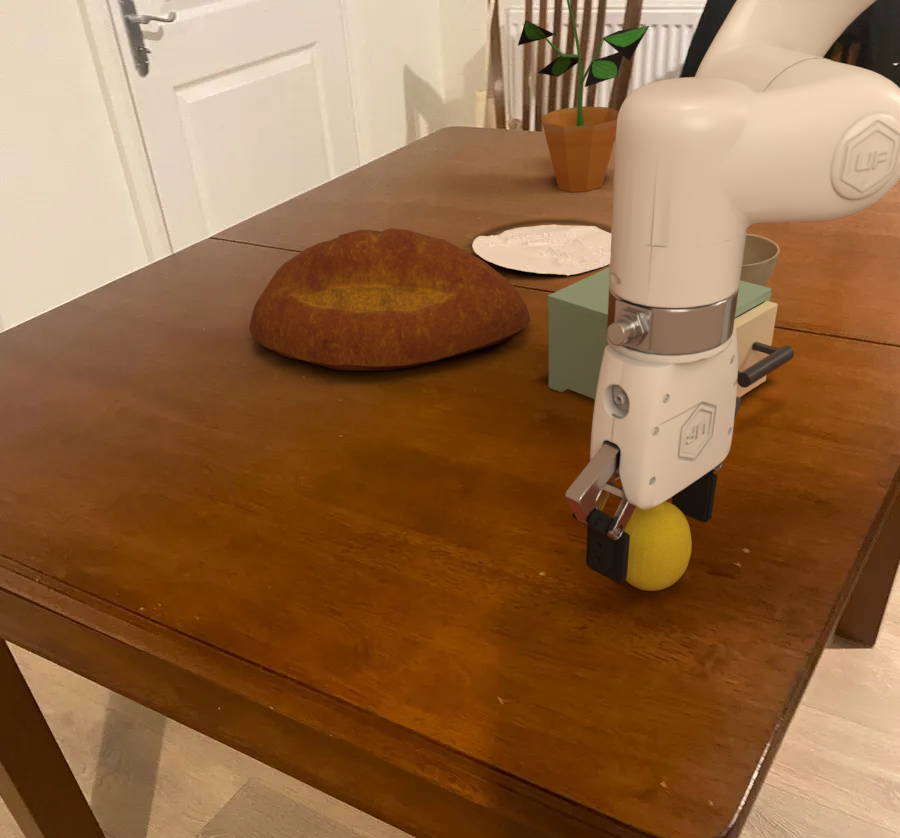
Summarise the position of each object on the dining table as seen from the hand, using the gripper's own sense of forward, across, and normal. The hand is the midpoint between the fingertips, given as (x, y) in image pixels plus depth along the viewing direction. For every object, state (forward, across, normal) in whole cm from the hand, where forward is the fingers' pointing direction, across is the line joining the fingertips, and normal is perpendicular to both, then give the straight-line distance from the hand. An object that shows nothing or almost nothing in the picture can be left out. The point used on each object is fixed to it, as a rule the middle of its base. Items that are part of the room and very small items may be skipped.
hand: (649, 542), depth 66 cm
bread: (+5, +16, +50) cm, 53 cm away
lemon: (+5, 0, 0) cm, 5 cm away
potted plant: (+4, +73, +71) cm, 102 cm away
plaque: (+4, +48, +55) cm, 73 cm away
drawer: (+3, +26, +16) cm, 31 cm away
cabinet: (+4, +26, +20) cm, 33 cm away
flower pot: (+4, +46, +25) cm, 53 cm away
